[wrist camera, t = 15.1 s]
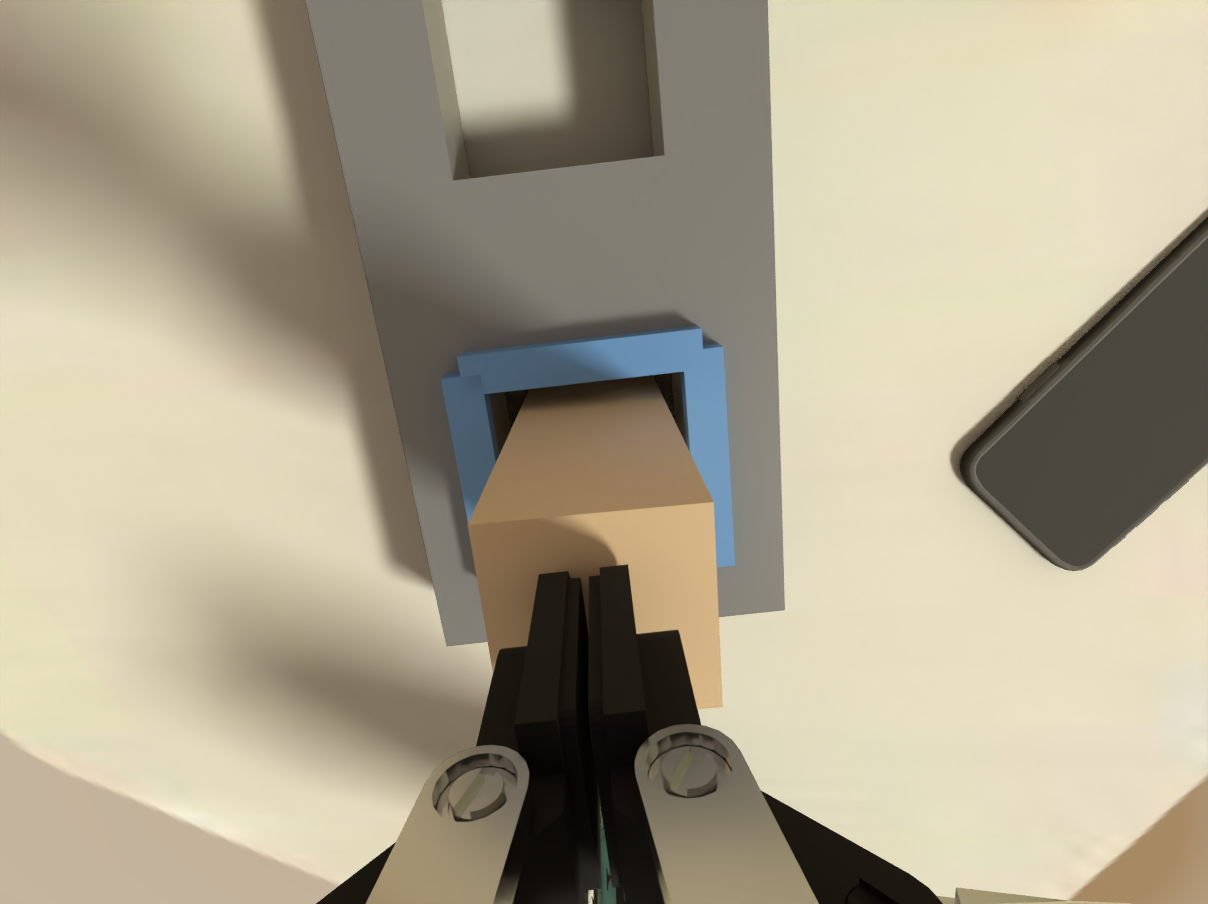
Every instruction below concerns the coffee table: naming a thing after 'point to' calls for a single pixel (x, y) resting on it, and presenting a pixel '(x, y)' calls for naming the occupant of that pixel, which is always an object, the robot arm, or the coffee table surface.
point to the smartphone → (1107, 420)
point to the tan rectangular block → (601, 517)
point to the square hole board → (569, 271)
